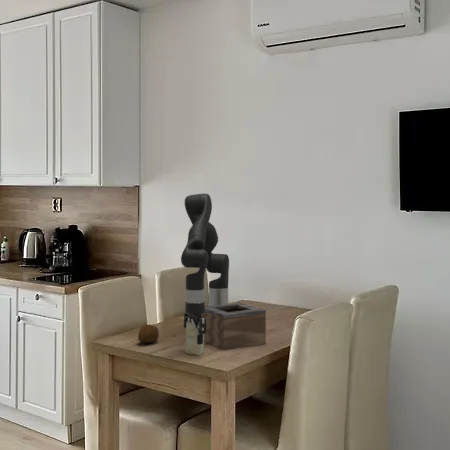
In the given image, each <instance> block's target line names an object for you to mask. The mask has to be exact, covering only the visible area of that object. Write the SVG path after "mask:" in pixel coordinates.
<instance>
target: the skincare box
mask: <svg viewBox="0 0 450 450" xmlns="http://www.w3.org/2000/svg"><path fill="white" fill-rule="evenodd" d="M197 327H199V324H198V325H197ZM203 330H204V328H203ZM185 353H186V354H190V355H191V354H192V355H197V356H199V355H201V354H204V353H205V341H204V334H203V344H200V345H198V344H197V331H196V330H195V329H194V326H193V323H192V322H186V328H185Z"/></svg>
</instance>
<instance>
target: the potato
mask: <svg viewBox="0 0 450 450" xmlns="http://www.w3.org/2000/svg"><path fill="white" fill-rule="evenodd" d="M159 332H160V331H159V328H158V327H157V326H156V325H153V324H144V325H143V326H141V328H140V329H139V331H138V335H137V338H138V341H139V342H140V343H142V344H150V343H154V342H156V341H157V340H158V339H159V337H160V333H159Z"/></svg>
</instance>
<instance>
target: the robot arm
mask: <svg viewBox="0 0 450 450" xmlns="http://www.w3.org/2000/svg"><path fill="white" fill-rule="evenodd" d="M184 207H185V212H186V214H187V216H188V218H189V220H190V222H191V224H192V225H191V226H190V229H189V230H188V234H187V235H188V236H187V242H186V245H185V247H184V249H183V251H182V252H181V256H180V261H181V262H180V263H181V265H182V266H183V267H185V268H191V269H192V268H193V269H195V268H196V269H198V271H196V272H193V273H188V274H187V275H186V276H185V295H184V296H185V297H184V298H185V300H184V305H185V306H184V308H185V309H184V311H185V312H184V313H183V328H185V329H186V322H192V323H193V326H194V329H195V330H196V331H197V344H198V345H200V344H203V334H206V318H202V316H201V314H202V313H204V311H205V303H206V302H205V301H206V300H205V274H206V271H207V272H208V273H211V274H220V275H219V277H218V278H215V279H211V280H210V281H209V282H208V304H207V306H214V305H223V304H229V273H230V272H229V271H230V258H229V255H228V254H226V253H225V254H224V253H213V250H215V248H216V246H217V245H218V242H219V236H218V232H217V229H216V227H215V225H213V224H212V223H211V222H210V218H211V215H212V210H213V209H212V208H213V203H212V198H211V196H210V194H209V193H198V194H197V193H196V194H190V195H187V196H186V197H185V198H184ZM198 324H199V327H197V325H198ZM203 328H204V330H203Z"/></svg>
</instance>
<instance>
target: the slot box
mask: <svg viewBox="0 0 450 450" xmlns="http://www.w3.org/2000/svg"><path fill="white" fill-rule="evenodd" d="M266 312H267V310H266V309H263V308H259V307H256V306H253V305H250V304H245V303H242V302H235V303H228V304H223V305H214V306H208V305H207V306H205V311H204V313H202V314H201V316H202V318H206V334H204V343H206V344H210V345H211V346H214V347H215V348H219V349H221V350H223V351H227V350H232V349H233V350H235V349H239V348H245V347H246V348H247V347H252V346H261V345H265V344H266V341H267V340H266V337H267V336H266V335H267V334H266V332H267V329H266V328H267V327H266V325H267V322H266V321H267V319H266V317H267V314H266Z"/></svg>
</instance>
